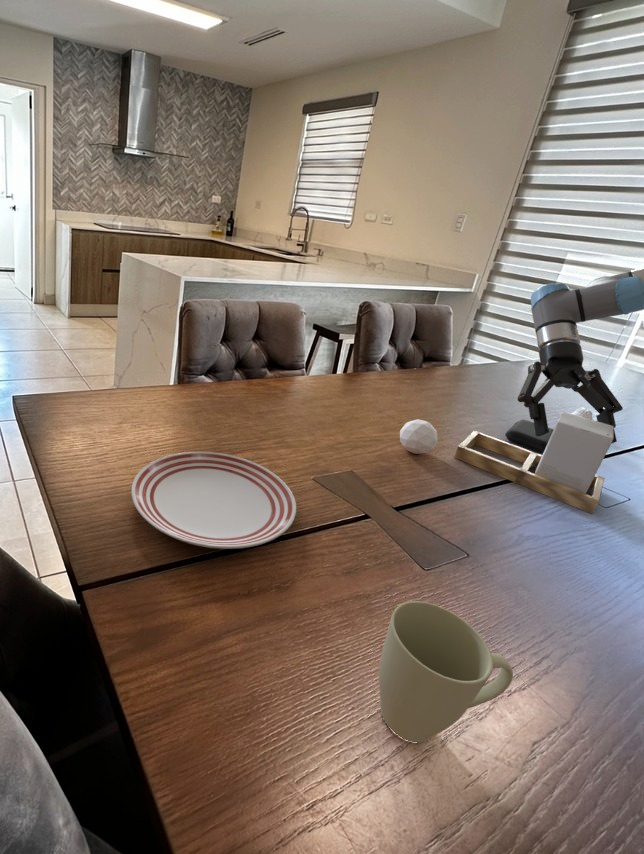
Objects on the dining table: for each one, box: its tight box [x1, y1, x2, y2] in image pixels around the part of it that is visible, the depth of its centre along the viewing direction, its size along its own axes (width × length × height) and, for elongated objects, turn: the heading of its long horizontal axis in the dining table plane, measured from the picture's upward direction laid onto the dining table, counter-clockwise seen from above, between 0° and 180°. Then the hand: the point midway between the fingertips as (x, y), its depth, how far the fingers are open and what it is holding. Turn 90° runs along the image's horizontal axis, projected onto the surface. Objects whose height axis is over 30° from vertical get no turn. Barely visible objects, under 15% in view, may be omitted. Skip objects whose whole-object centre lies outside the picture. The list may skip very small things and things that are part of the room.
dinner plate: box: [130, 451, 297, 550], centre depth 79 cm, size 28×27×3 cm
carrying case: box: [505, 419, 554, 453], centre depth 120 cm, size 11×3×15 cm
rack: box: [453, 430, 605, 515], centre depth 103 cm, size 26×13×3 cm, turn 46°
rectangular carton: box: [534, 410, 615, 494], centre depth 97 cm, size 9×9×15 cm
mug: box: [378, 600, 514, 744], centre depth 48 cm, size 11×10×12 cm
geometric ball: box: [399, 418, 438, 455], centre depth 106 cm, size 8×8×8 cm
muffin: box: [570, 407, 594, 420], centre depth 128 cm, size 6×6×7 cm
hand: (575, 439), depth 97 cm, fingers open, 13 cm apart
